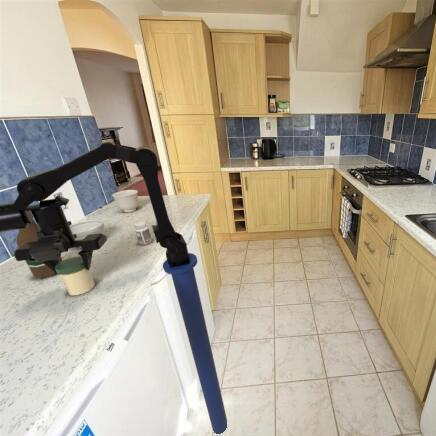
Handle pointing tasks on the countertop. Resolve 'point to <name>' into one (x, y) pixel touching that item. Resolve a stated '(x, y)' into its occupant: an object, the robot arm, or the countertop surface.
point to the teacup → (127, 200)
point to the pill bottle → (142, 233)
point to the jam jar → (78, 281)
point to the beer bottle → (31, 236)
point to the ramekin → (87, 228)
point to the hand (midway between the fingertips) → (74, 271)
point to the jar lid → (70, 265)
